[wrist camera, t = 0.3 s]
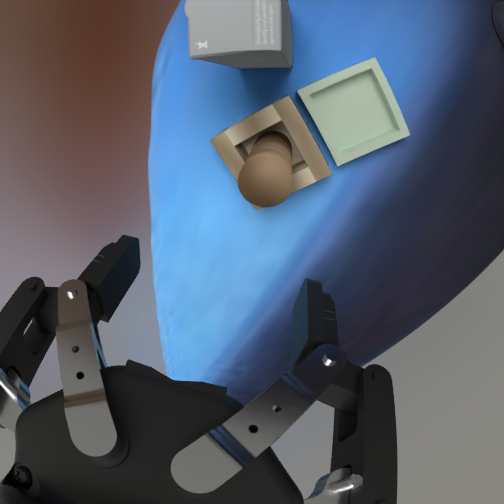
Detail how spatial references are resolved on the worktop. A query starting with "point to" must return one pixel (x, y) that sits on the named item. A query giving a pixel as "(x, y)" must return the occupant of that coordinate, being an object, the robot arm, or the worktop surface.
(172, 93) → the worktop surface
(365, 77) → the tray
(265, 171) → the dowel
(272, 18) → the skincare box
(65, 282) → the robot arm
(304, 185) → the pocket block
